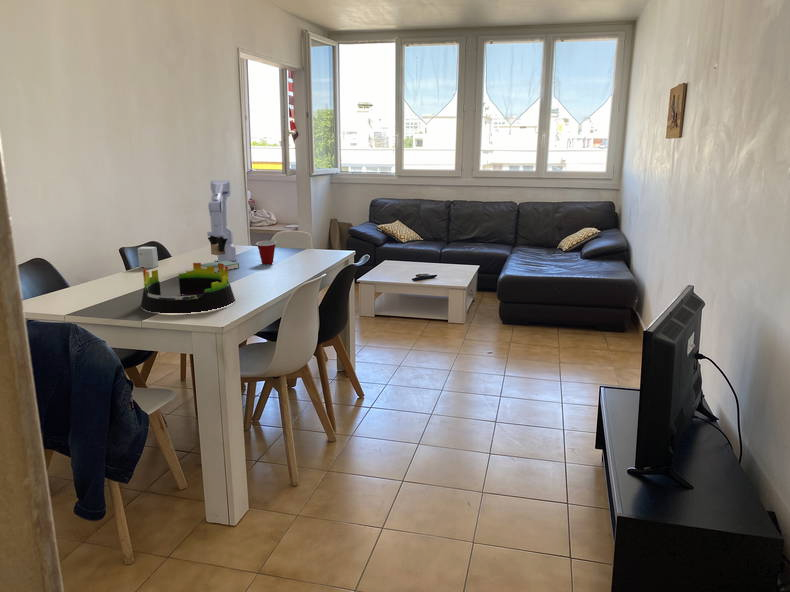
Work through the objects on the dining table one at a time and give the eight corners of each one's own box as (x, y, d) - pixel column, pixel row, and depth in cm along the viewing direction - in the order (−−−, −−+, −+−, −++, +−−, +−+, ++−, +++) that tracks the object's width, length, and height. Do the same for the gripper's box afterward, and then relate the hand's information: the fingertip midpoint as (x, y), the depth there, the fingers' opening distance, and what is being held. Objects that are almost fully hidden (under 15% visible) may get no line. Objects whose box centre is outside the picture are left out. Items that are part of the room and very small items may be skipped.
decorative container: (123, 315, 234) (119, 276, 231) (163, 292, 270) (160, 259, 266) (218, 317, 232) (216, 278, 229) (246, 294, 268) (244, 260, 265)
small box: (158, 266, 326) (157, 246, 323) (153, 268, 321) (151, 248, 318) (144, 266, 327) (142, 246, 324) (139, 268, 321) (137, 248, 319)
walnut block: (219, 252, 322) (218, 243, 320) (225, 254, 319) (224, 244, 317) (211, 254, 318) (210, 244, 317) (217, 255, 315) (216, 245, 314)
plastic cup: (252, 264, 331) (251, 242, 329) (264, 261, 341) (263, 240, 338) (270, 266, 327) (269, 244, 325) (281, 263, 337) (280, 241, 334)
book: (225, 265, 330) (224, 260, 329) (239, 268, 323) (239, 262, 322) (199, 270, 318) (199, 264, 317) (213, 273, 311) (213, 267, 310)
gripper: (201, 224, 316) (203, 250, 319) (218, 226, 307) (220, 253, 310) (213, 223, 321) (214, 248, 325) (230, 225, 313) (232, 251, 316)
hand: (218, 251), depth 318 cm, fingers closed on walnut block, 5 cm apart
